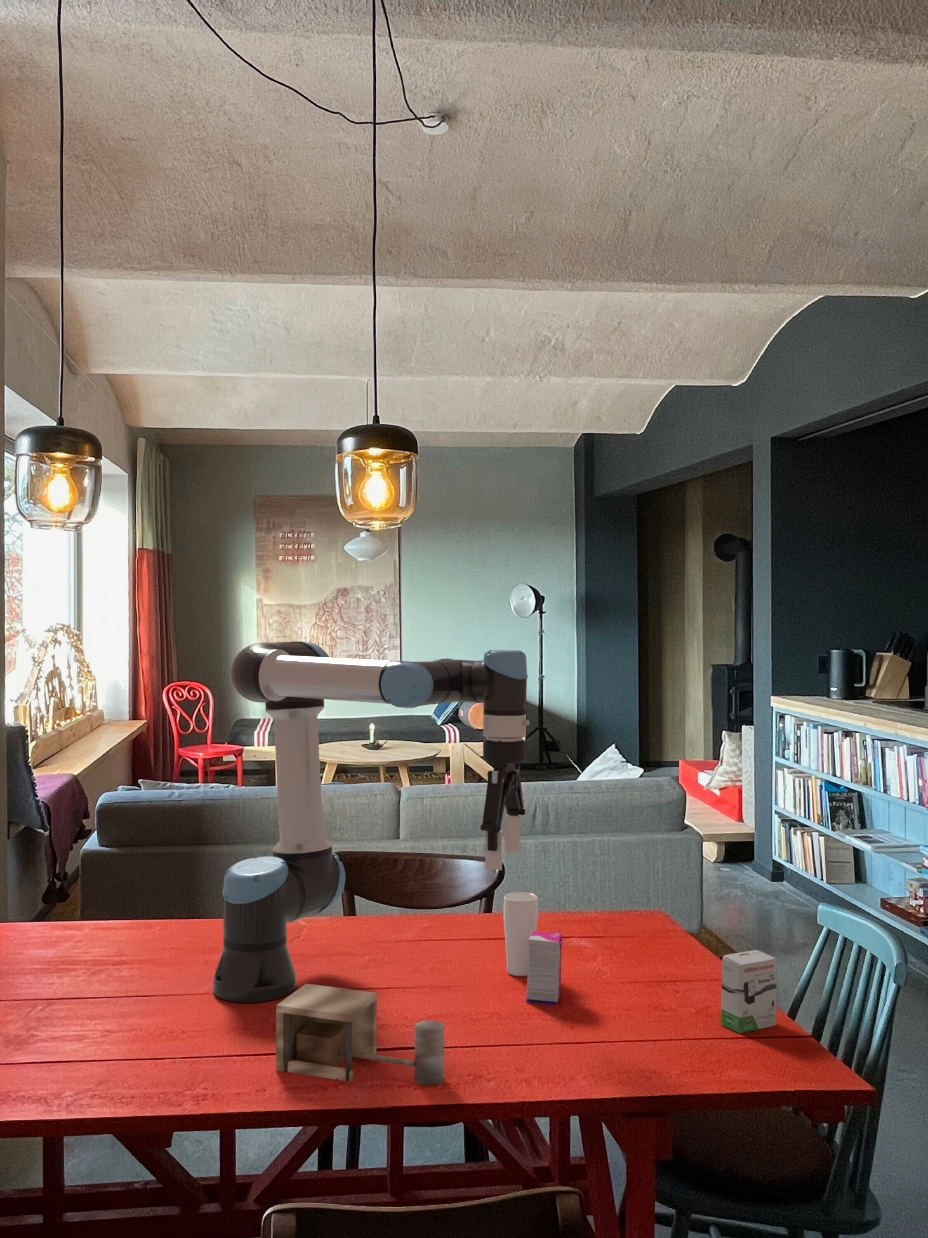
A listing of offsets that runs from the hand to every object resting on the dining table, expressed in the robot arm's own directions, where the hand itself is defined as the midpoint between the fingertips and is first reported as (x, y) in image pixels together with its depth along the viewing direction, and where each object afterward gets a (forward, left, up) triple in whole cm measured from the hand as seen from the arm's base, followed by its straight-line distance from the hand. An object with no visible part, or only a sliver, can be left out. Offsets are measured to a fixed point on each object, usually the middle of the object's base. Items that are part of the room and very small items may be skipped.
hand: (503, 860), depth 181 cm
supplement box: (+5, +11, -28) cm, 30 cm away
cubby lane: (-21, -27, -27) cm, 44 cm away
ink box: (+41, +11, -28) cm, 51 cm away
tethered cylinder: (-13, -27, -27) cm, 41 cm away
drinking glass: (-3, +23, -28) cm, 36 cm away
